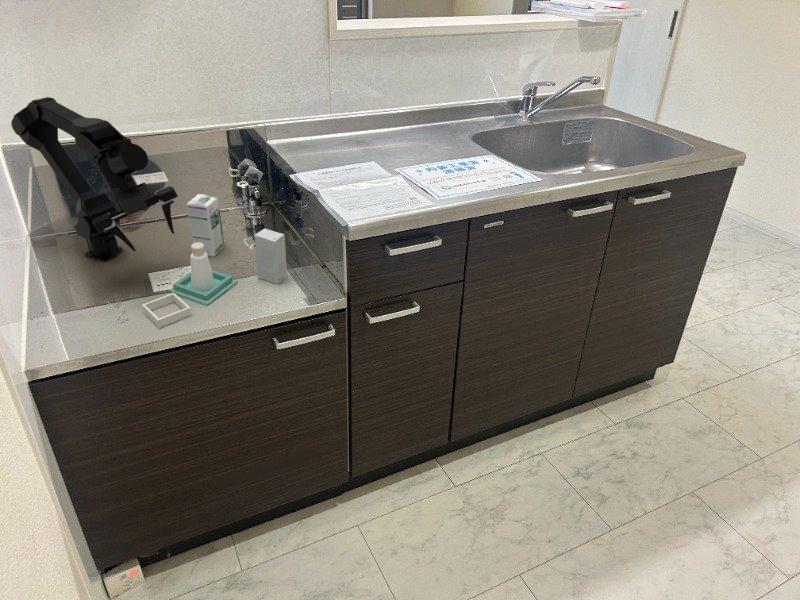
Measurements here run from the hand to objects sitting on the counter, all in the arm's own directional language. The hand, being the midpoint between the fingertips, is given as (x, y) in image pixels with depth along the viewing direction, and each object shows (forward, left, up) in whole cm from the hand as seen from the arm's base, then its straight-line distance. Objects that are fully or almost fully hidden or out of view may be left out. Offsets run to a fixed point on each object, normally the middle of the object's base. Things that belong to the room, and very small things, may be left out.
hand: (154, 242), depth 139 cm
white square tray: (+10, -11, -10) cm, 18 cm away
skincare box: (+23, +12, -10) cm, 28 cm away
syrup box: (+2, +16, -10) cm, 19 cm away
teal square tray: (+11, +1, -10) cm, 15 cm away
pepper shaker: (+11, +1, -10) cm, 15 cm away
